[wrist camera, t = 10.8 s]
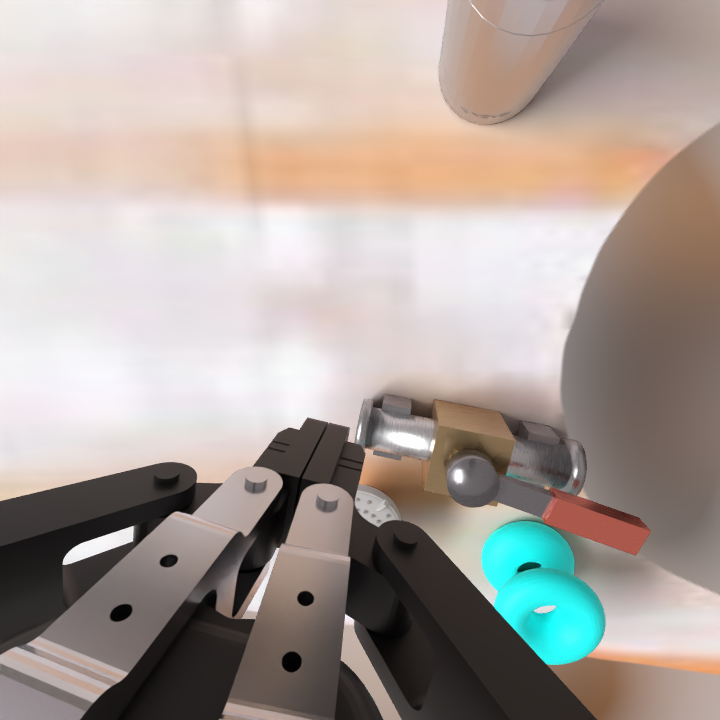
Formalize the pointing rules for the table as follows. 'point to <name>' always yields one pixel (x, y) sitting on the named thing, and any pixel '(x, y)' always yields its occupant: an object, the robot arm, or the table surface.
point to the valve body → (470, 443)
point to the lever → (541, 502)
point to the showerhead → (375, 505)
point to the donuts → (543, 592)
